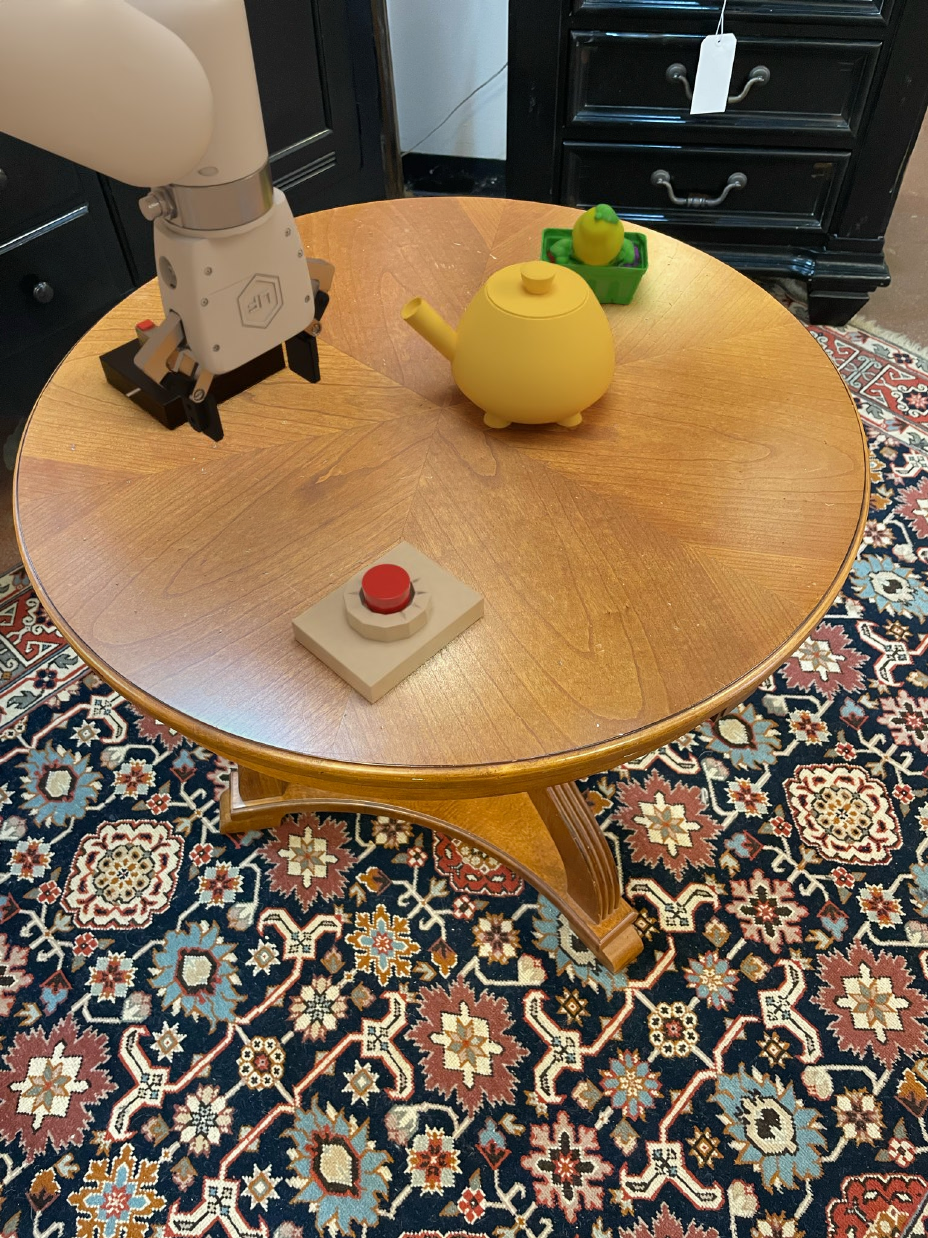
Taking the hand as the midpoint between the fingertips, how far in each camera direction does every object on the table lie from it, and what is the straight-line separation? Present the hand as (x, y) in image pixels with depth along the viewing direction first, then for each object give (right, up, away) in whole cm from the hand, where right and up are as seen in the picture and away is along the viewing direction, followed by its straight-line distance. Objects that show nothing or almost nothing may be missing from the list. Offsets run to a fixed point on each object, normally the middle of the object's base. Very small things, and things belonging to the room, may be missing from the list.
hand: (258, 403), depth 75 cm
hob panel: (-11, +8, +21) cm, 25 cm away
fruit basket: (+30, +19, +31) cm, 47 cm away
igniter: (+10, -18, 0) cm, 20 cm away
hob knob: (-12, +6, +16) cm, 21 cm away
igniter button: (+10, -15, -2) cm, 18 cm away
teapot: (+20, +5, +19) cm, 28 cm away
